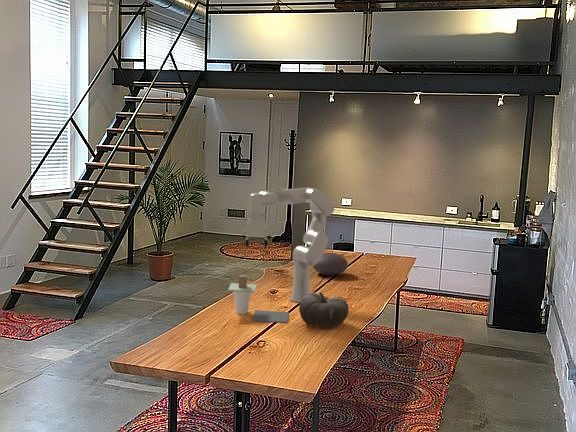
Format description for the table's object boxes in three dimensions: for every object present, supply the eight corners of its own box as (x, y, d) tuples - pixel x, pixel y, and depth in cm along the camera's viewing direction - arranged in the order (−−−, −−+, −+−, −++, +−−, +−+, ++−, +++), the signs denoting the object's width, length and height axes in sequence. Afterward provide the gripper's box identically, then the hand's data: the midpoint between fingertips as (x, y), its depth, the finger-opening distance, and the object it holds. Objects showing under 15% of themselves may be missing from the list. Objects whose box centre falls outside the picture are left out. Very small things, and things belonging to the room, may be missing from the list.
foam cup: (253, 311, 340) (254, 287, 339) (246, 315, 332) (247, 291, 330) (237, 308, 343) (237, 285, 342) (229, 313, 335) (230, 289, 333)
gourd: (297, 310, 336) (304, 280, 332) (343, 320, 336) (350, 290, 332) (295, 329, 312) (302, 297, 307) (344, 340, 311) (352, 308, 307)
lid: (256, 285, 343) (257, 273, 342) (254, 292, 329) (255, 279, 328) (231, 284, 343) (231, 272, 342) (227, 291, 329) (228, 278, 328)
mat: (288, 312, 340) (288, 312, 340) (287, 323, 322) (287, 322, 322) (255, 311, 340) (255, 310, 340) (252, 321, 323) (252, 320, 322)
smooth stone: (353, 274, 439) (354, 253, 437) (336, 280, 418) (337, 258, 416) (322, 269, 452) (323, 248, 450) (304, 274, 431) (305, 253, 429)
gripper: (272, 215, 346) (272, 246, 349) (241, 214, 347) (241, 245, 349) (272, 217, 339) (272, 248, 342) (240, 217, 339) (240, 248, 342)
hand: (256, 247), depth 345 cm, fingers open, 9 cm apart
